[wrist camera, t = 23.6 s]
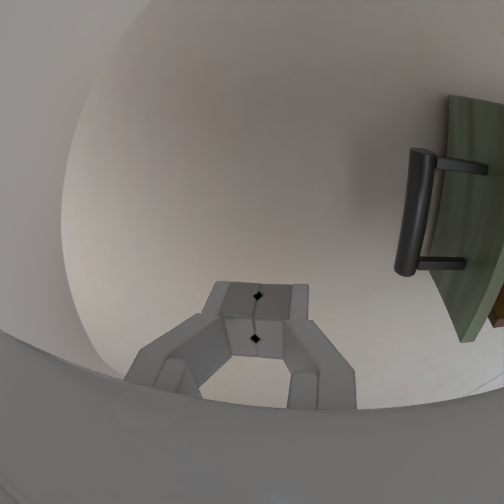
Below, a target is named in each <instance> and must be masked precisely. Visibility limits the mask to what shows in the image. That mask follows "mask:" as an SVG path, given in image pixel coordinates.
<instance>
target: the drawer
mask: <svg viewBox="0 0 504 504" xmlns="http://www.w3.org/2000/svg"><path fill="white" fill-rule="evenodd" d="M435 168H436V169H442V170H445V175H444V183H443V190H442V196H441V202H440V208H439V213H438V218H437V223H436V228H435V233H434V237H433V242H432V246H431V250H430V254H429V257H426V256H420V252H421V248H422V244H423V239H424V234H425V230H426V224H427V219H428V214H429V208H430V202H431V195H432V188H433V181H434V172H435ZM416 269H417V270H429V272H430V274H431V276H432V278H433V280H434V282H435V284H436V286H437V288H438V291H439V293H440V295H441V297H442V299H443V302H444V304H445V306H446V308H447V311H448V313H449V315H450V318H451V320H452V323H453V325H454V328H455V330H456V333H457V335H458V338H459V340H460V343H466V342H473V341H474V340H475V339H476V337H477V335H478V333H479V332H480V330H481V328H482V326H483V324H484V323H485V321H486V319H487V317H488V318H489V320H490V322H491V324H492V326H493V328H496V327H503V326H504V105H503V104H499V103H494V102H490V101H485V100H479V99H474V98H468V97H462V96H455V95H449V130H448V146H447V157H445V156H437V155H436V153H435V152H433V151H430V150H427V149H422V148H410V154H409V168H408V179H407V188H406V197H405V205H404V212H403V219H402V225H401V232H400V237H399V243H398V248H397V254H396V259H395V263H394V270H395V272H396V273H397V274H399V275H401V276H404V277H410V276H413V275H414V274H415V272H416Z"/></svg>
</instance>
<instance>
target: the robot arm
mask: <svg viewBox="0 0 504 504" xmlns="http://www.w3.org/2000/svg"><path fill="white" fill-rule="evenodd" d="M308 301H309V285H308V284H293V285H288V284H261V283H245V282H228V281H217V282H216V283H215V284H214V286H213V288H212V290H211V293H210V295H209V297H208V299H207V301H206V304H205V306H204V308H203V310H202V313H201V314H199V313H196V314H195V315H193V316H192V317H190V318H189V319H187V320H186V321H184V322H183V323H181V324H180V325H178V326H176V327H175V328H173V329H172V330H170V331H169V332H167V333H166V334H164V335H162V336H161V337H159V338H158V339H156V340H155V341H153V342H151V343H150V344H148V345H147V346H145V347H144V348H142V349H140V351H139V353H138V354H137V356H136V358H135V360H134V362H133V363H132V365H131V367H130V369H129V371H128V373H127V374H126V376H125V378H124V380H122V379H119V378H115V377H112V376H109V375H106V374H103V373H100V372H97V371H94V370H91V369H88V368H85V367H83V366H80V365H77V364H75V363H72V362H69V361H67V360H64V359H62V358H59V357H57V356H54V355H52V354H50V353H47V352H45V351H43V350H41V349H38V348H36V347H34V346H32V345H30V344H28V343H25V342H23V341H21V340H19V339H17V338H15V337H13V336H11V335H9V334H8V333H6V332H4V331H2V330H0V504H504V387H503V388H499V389H496V390H492V391H488V392H484V393H480V394H476V395H471V396H467V397H462V398H457V399H452V400H446V401H440V402H434V403H427V404H420V405H412V406H402V407H392V408H378V409H359V410H357V404H356V382H355V371H354V369H353V368H352V367H351V366H350V365H349V363H348V362H347V361H346V360H345V359H344V357H343V356H342V355H341V354H340V353H339V351H338V350H337V349H336V348H335V347H334V345H333V344H332V343H331V342H330V341H329V340H328V338H327V337H326V336H325V335H324V334H323V332H322V331H321V330H320V329H319V328H318V326H317V325H316V324H315V323H314V322H313V321H312V320H308ZM231 355H235V356H249V357H262V358H272V359H284V362H285V364H286V366H287V368H288V370H289V371H290V373H291V380H290V387H289V394H288V401H287V408H272V407H261V406H251V405H243V404H235V403H228V402H221V401H215V400H209V399H203V397H202V395H201V393H200V391H199V389H198V388H199V387H200V386H201V385H202V384H204V383H205V382H206V381H207V380H208V379H209V378H210V377H211V376H212V375H213V374H214V373H215V372H216V371H217V370H218V369H219V368H220V367H221V366H223V365H224V364H225V363H226V362H227V361H228V360H229V359H230V358H231V357H232V356H231Z"/></svg>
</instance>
